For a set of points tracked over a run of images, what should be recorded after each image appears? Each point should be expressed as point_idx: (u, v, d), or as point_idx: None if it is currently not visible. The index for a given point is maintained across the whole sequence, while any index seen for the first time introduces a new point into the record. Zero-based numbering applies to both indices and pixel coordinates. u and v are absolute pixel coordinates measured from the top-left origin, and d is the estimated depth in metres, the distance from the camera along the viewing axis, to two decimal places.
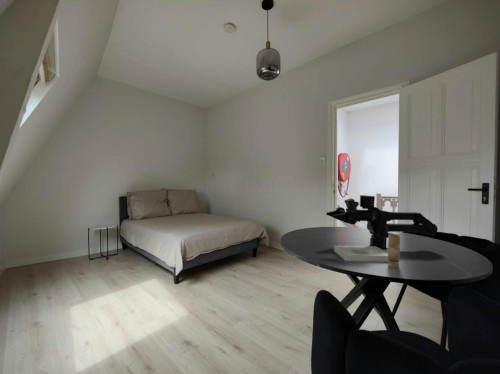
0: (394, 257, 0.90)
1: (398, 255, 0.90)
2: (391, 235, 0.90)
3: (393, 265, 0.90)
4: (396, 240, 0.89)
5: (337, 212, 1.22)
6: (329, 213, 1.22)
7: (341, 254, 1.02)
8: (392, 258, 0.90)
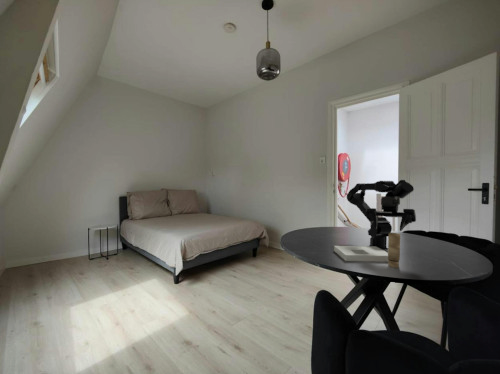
0: (394, 257, 0.90)
1: (398, 255, 0.90)
2: (391, 235, 0.90)
3: (393, 265, 0.90)
4: (396, 240, 0.89)
5: (376, 217, 1.05)
6: (376, 225, 1.02)
7: (341, 254, 1.02)
8: (392, 258, 0.90)
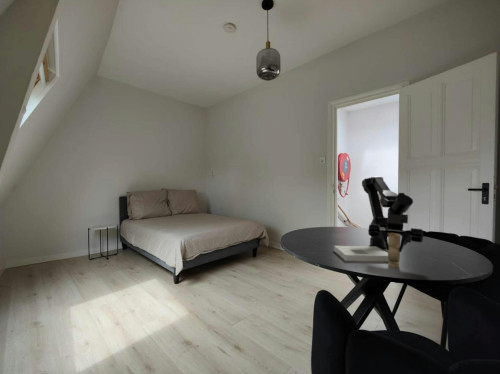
0: (394, 257, 0.90)
1: (398, 255, 0.90)
2: (391, 235, 0.90)
3: (393, 265, 0.90)
4: (396, 240, 0.89)
5: (387, 235, 0.95)
6: None
7: (341, 254, 1.02)
8: (392, 258, 0.90)
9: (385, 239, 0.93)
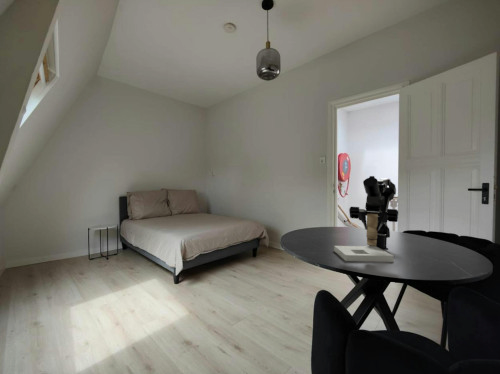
0: (372, 235, 0.96)
1: (375, 234, 0.96)
2: (369, 215, 0.97)
3: (371, 243, 0.97)
4: (374, 220, 0.96)
5: (365, 216, 1.01)
6: (366, 226, 0.99)
7: (341, 254, 1.02)
8: (370, 237, 0.97)
9: (364, 220, 1.00)
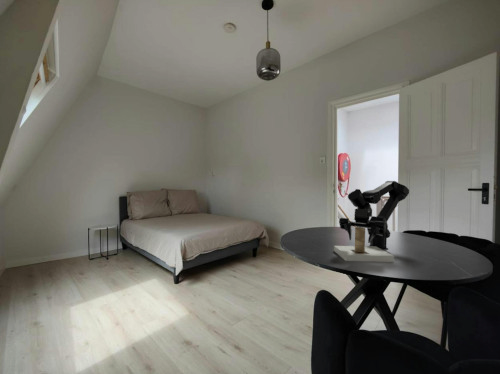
0: (359, 248, 1.00)
1: (363, 247, 1.00)
2: (357, 229, 1.01)
3: None
4: (361, 234, 1.00)
5: (350, 227, 1.06)
6: (350, 236, 1.03)
7: (341, 254, 1.02)
8: (358, 250, 1.00)
9: (349, 230, 1.04)
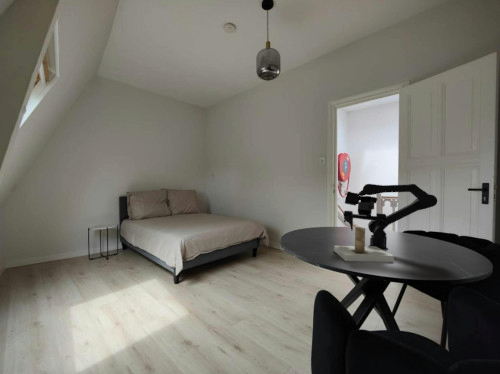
0: (359, 249, 1.00)
1: (363, 247, 1.00)
2: (357, 229, 1.01)
3: None
4: (361, 234, 1.00)
5: (352, 219, 1.15)
6: (352, 227, 1.12)
7: (341, 254, 1.02)
8: (358, 250, 1.00)
9: (350, 222, 1.13)
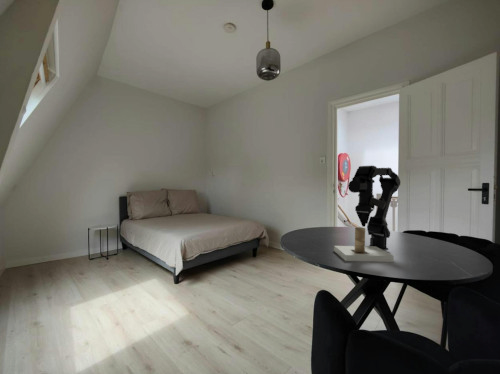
0: (359, 249, 1.00)
1: (363, 247, 1.00)
2: (357, 229, 1.01)
3: None
4: (361, 234, 1.00)
5: None
6: None
7: (341, 254, 1.02)
8: (357, 250, 1.00)
9: (366, 218, 1.04)
